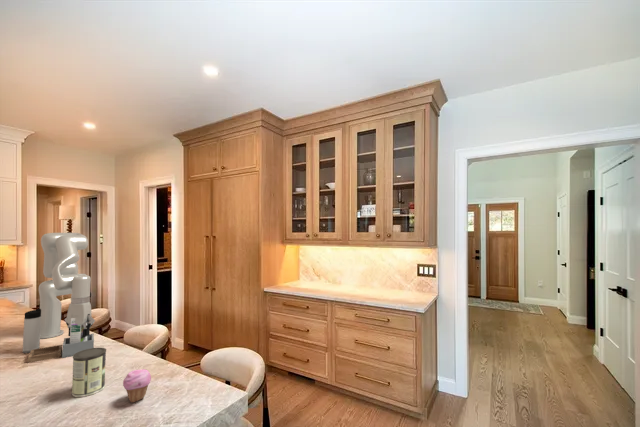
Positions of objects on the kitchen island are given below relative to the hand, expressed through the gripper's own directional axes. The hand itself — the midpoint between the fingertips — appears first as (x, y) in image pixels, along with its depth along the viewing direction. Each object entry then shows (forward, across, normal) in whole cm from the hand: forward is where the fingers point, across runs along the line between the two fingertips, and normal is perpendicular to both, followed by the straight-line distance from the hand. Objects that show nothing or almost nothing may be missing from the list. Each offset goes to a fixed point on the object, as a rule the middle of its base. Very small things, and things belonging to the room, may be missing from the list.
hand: (78, 335), depth 156 cm
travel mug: (+8, -24, -3) cm, 25 cm away
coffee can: (+8, +38, -33) cm, 51 cm away
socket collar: (+8, -10, -8) cm, 15 cm away
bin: (+8, 0, 0) cm, 8 cm away
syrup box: (+5, 0, 0) cm, 5 cm away
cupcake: (+8, +61, -36) cm, 71 cm away
